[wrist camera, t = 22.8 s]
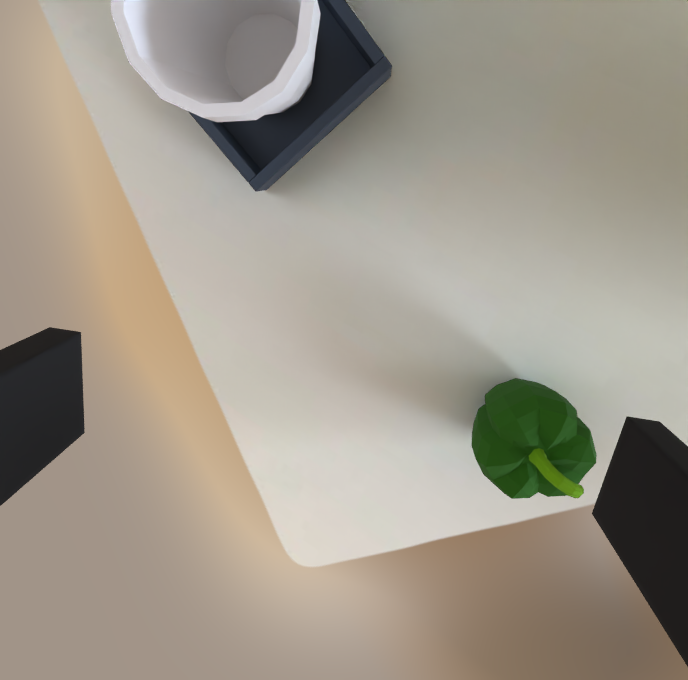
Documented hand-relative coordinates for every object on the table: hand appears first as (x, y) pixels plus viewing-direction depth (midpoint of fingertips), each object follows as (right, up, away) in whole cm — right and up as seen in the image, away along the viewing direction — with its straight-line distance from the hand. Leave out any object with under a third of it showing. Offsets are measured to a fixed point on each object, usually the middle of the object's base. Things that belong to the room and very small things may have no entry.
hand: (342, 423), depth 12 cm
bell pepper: (+14, -4, +31) cm, 34 cm away
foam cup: (-5, +21, +23) cm, 32 cm away
